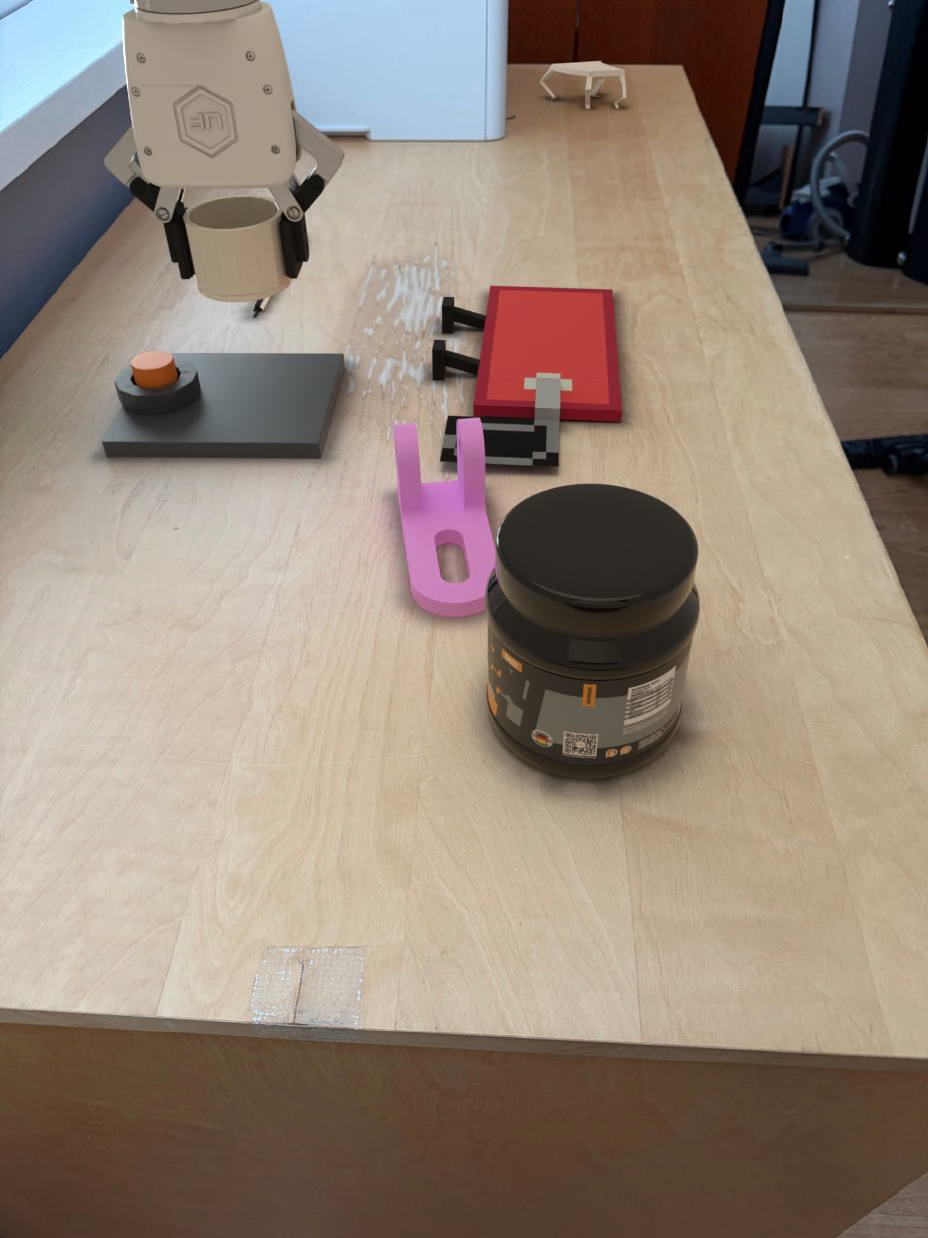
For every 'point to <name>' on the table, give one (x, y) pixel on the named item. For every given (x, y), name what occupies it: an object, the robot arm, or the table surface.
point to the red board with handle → (534, 369)
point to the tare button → (154, 369)
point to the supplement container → (590, 628)
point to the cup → (236, 248)
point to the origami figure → (588, 77)
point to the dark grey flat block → (230, 407)
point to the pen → (260, 306)
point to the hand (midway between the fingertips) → (243, 269)
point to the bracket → (445, 521)
